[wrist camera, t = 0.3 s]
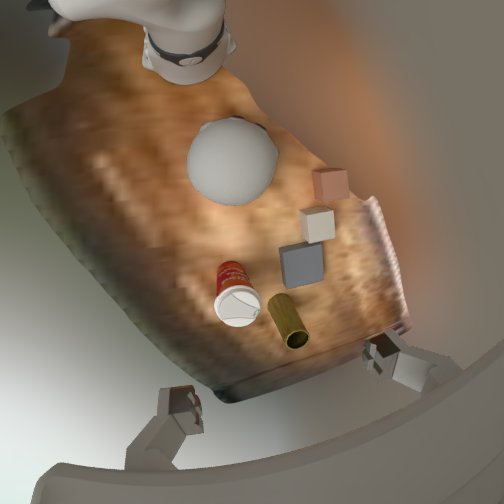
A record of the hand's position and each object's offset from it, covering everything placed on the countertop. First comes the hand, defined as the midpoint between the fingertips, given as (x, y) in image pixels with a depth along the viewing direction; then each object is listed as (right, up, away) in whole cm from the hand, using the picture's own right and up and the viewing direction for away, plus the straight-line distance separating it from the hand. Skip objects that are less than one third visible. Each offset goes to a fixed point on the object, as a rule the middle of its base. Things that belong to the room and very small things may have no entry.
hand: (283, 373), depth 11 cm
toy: (-6, +23, +41) cm, 47 cm away
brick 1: (+15, +20, +46) cm, 52 cm away
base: (+10, +3, +51) cm, 52 cm away
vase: (+5, -7, +55) cm, 55 cm away
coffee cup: (-6, +1, +49) cm, 50 cm away
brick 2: (+12, +12, +48) cm, 51 cm away
